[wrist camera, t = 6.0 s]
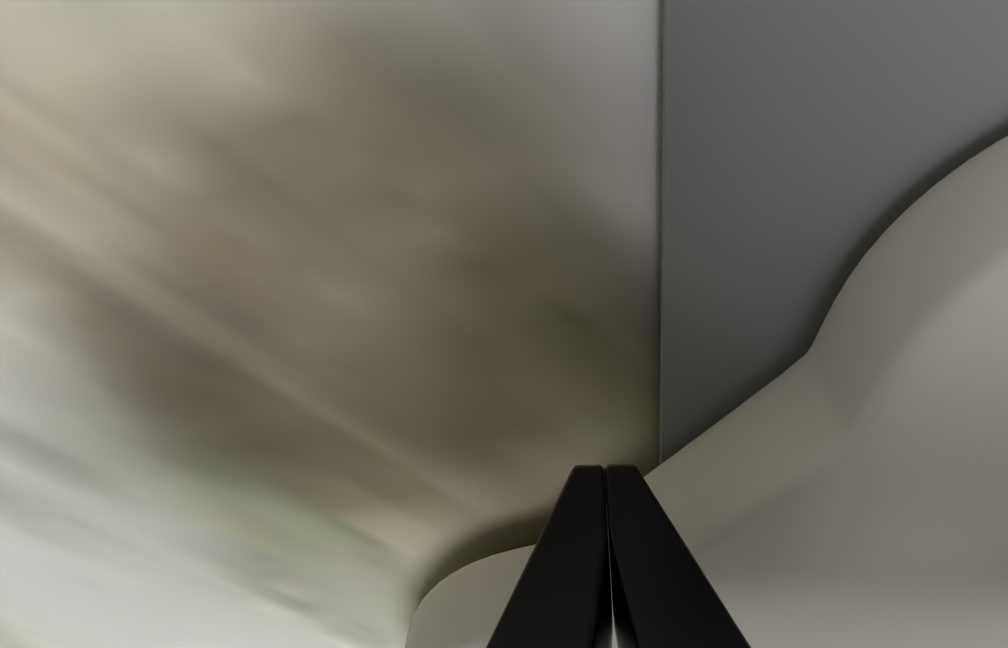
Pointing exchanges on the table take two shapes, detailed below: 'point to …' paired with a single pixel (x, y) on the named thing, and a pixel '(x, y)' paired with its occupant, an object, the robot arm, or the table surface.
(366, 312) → the table surface
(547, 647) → the robot arm
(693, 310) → the mat
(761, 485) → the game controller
